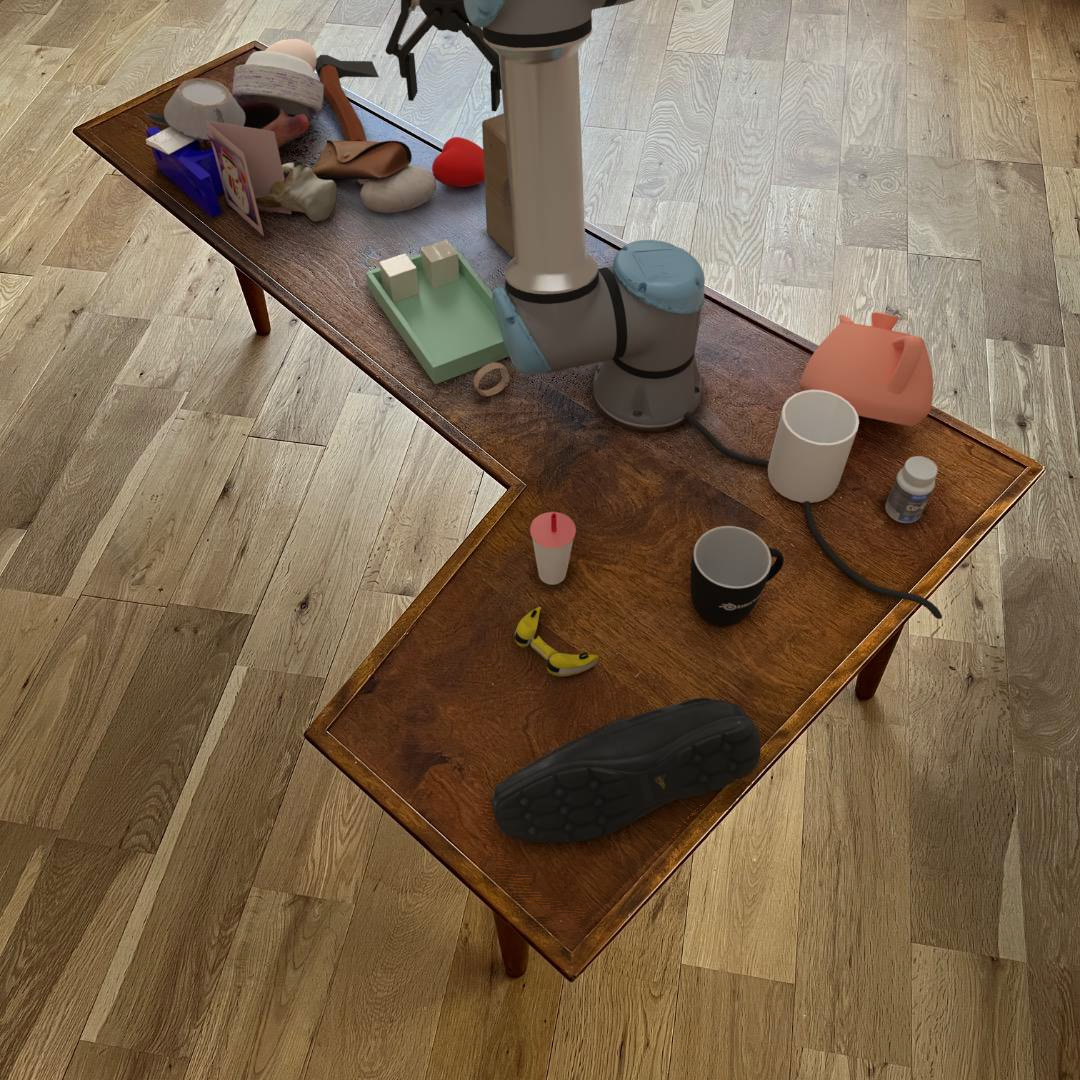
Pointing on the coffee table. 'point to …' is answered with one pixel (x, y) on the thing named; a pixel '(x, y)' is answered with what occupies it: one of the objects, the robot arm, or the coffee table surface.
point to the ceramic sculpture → (301, 192)
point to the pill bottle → (911, 489)
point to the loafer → (627, 771)
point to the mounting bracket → (192, 173)
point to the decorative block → (497, 184)
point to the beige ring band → (499, 387)
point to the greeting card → (246, 167)
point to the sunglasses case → (362, 159)
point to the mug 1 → (730, 574)
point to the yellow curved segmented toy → (556, 661)
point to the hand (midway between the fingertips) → (454, 101)
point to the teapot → (874, 370)
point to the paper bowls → (279, 83)
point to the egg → (296, 50)
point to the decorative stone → (399, 190)
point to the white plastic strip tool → (169, 140)
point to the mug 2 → (812, 445)
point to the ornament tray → (445, 322)
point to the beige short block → (399, 278)
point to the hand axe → (335, 96)
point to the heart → (459, 163)
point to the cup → (552, 545)
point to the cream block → (440, 263)
